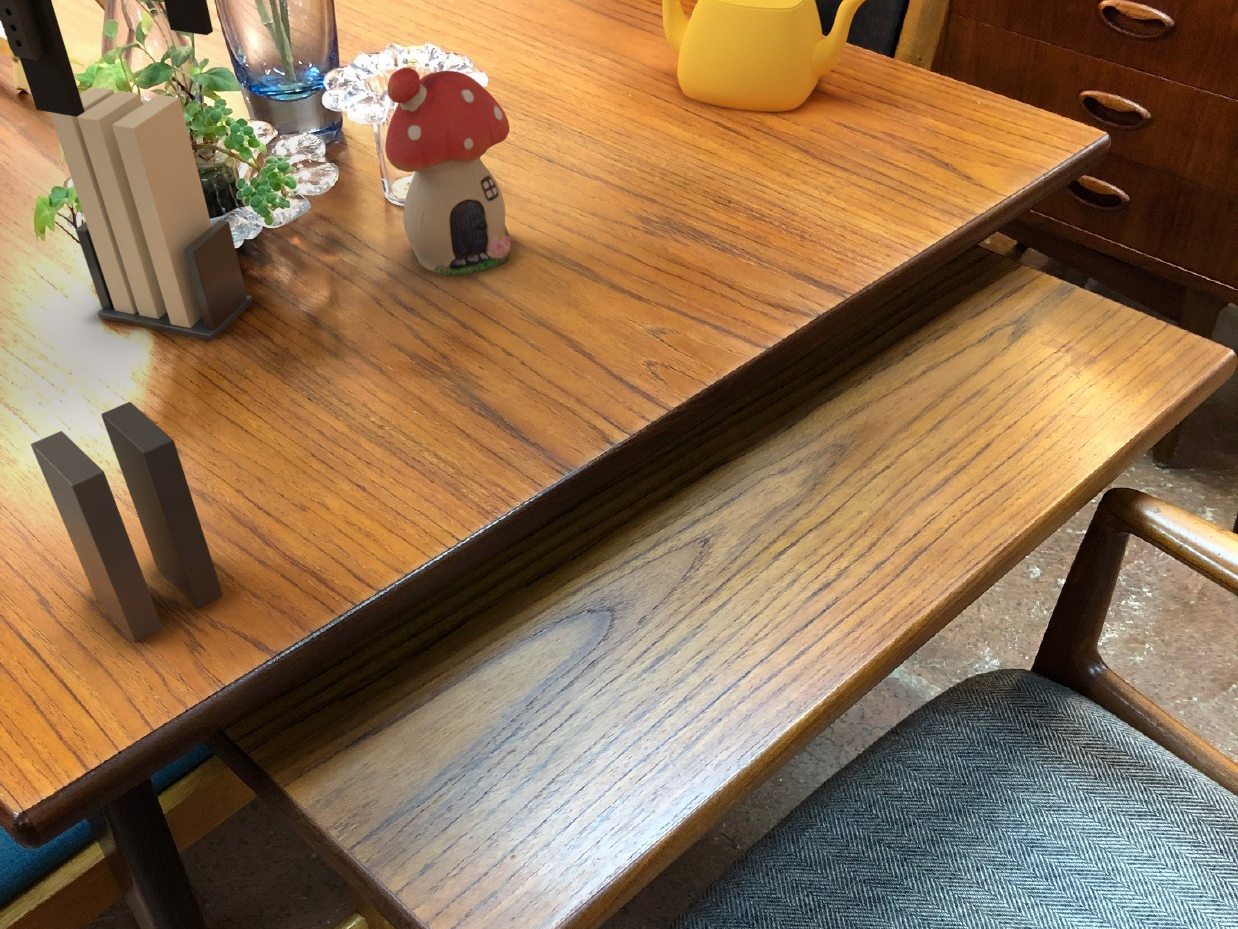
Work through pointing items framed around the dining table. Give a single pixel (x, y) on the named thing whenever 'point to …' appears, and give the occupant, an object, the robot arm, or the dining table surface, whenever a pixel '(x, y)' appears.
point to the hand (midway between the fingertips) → (130, 69)
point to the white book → (165, 197)
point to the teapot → (754, 50)
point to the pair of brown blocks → (158, 507)
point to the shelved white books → (110, 199)
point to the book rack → (211, 279)
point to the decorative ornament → (449, 170)
